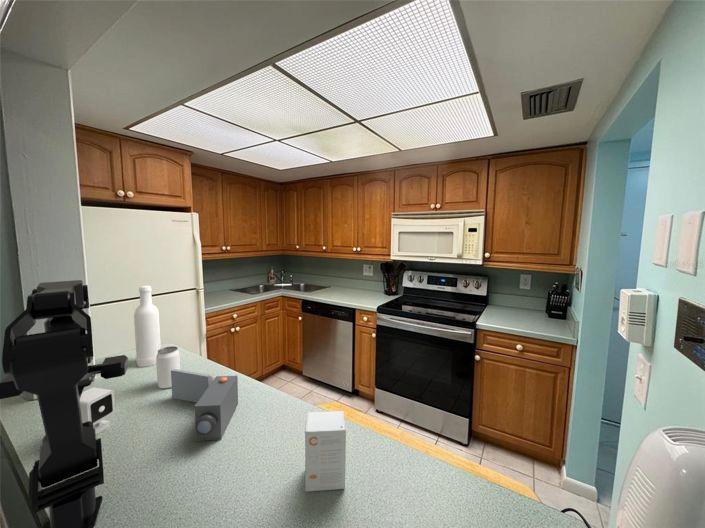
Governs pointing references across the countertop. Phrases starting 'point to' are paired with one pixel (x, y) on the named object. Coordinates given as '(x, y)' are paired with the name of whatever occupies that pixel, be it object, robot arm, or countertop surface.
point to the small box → (325, 451)
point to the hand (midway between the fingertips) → (72, 413)
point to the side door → (189, 384)
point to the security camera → (97, 407)
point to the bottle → (146, 329)
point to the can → (166, 365)
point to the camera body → (216, 407)
